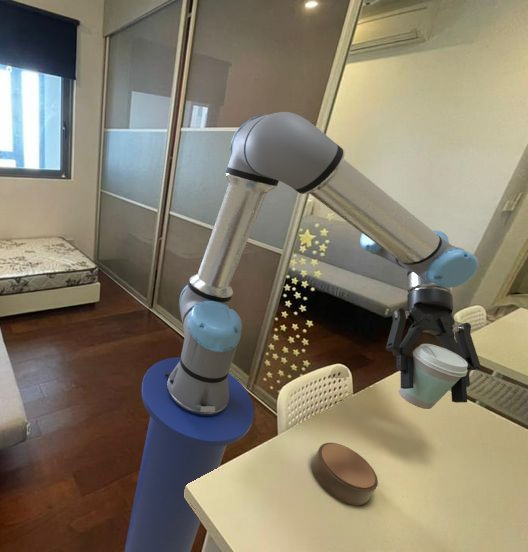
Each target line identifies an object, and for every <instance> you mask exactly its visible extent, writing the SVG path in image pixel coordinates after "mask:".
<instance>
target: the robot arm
mask: <svg viewBox="0 0 528 552" xmlns="http://www.w3.org/2000/svg"><path fill="white" fill-rule="evenodd" d="M345 153H346V152H345V149H344V148H342V146H340V145H339V144H338V143H336V142H335V141H334V140H333V139H332V138H330V137H329V136H328V135H327V134H326V133H325V132H323V130H321V129H319V128H318V126H316V125H314V124H313V123H312V122H311V121H309V120H308V119H306V118H305V117H303V116H301V115H299V114H297V113H293V112H290V111H278V112H274V113H269V114H261V115H260V114H259V115H257V116H254V117H251V118H249V119H248V120H247V121H245V122H244V123H243V124H241V125H240V126H239V127H238V129H237V130H236V131H235V132H234V134H233V136H232V139H231V142H230V148H229V154H230V158H229V161H228V164H227V166H226V167H227V168H226V169H225V177H226V179H227V181H228V185H227V187H226V191H225V193H224V196H223V200H222V202H221V205H220V208H219V211H218V214H217V217H216V220H215V224H214V226H213V227H212V231H211V234H210V237H209V241H208V243H207V246H206V249H205V251H204V254H203V257H202V261H201V263H200V265H199V269H198V272H197V273H195V274H194V275H192V276H190V278H189V280H188V282H187V284H186V286H185V287H184V288H183V289H182V291H181V293H180V295H179V300H178V309H179V312H180V317H181V323H182V329H183V334H184V336H183V337H184V338H183V345H182V349H181V354H180V357H181V358H180V361H179V363H178V364H177V366H176V367H175V369H174V370H173V371H172V373H165V376H169V379H168V383H167V392H168V395H169V397H170V398H171V400H172V401H173V402H174V403H175V404H176V405H177V406H178V407H179V408H181V409H182V410H184V411H185V412H188V413H190V414H192V415H196V416H200V417H213V416H217V415H219V414H221V413H222V412H223V411H224V410H225V409H226V407H227V404H228V401H229V386H228V373H229V374H230V370H231V367H232V363H233V361H234V357H235V354H236V351H237V348H238V345H239V342H240V340H241V337H242V329H243V323H242V320H241V318H240V315H239V314H238V313H237V312H236V311H235V310H234V309H233V308H230V306H229V305H230V302H231V300H232V297H233V294H234V290H233V288H232V286H231V283H232V280H233V278H234V275H235V273H236V271H237V268H238V266H239V263H240V262H241V261H240V260H241V258H242V255H243V253H244V250H245V248H246V245H247V243H248V240H249V238H250V235H251V233H252V231H253V228H254V226H255V223H256V220H257V217H258V216H259V213H260V211H261V207H262V205H263V203H264V201H265V198H266V195H267V194H268V193H269V192H270V191H272V190H274V189H276V188H277V187H278V184H279V183H280V182H281V183H283V184H285V185H286V186H288V187H290V188H292V189H293V190H295V192H297V193H298V194H301V195H306V194H309V195H311V196H312V197H314V198H315V199H316V200H318V201H319V202H320V203H321V204H323V205H324V206H325V207H327V208H328V209H329V210H331V211H332V212H334V214H336V215H337V216H339V217H340V218H342V219H343V220H344V221H345V222H347V223H348V224H350V225H351V226H352V227H354V228H355V229H356V230H358V231H359V232H360V233H361V234H360V235H361V236H360V238H359V245H360V247H361V249H363V250H364V251H367V252H369V253H370V254H372V255H376V256H378V257H381V258H383V259H385V260H386V261H389V262H390V263H392V264H395V265H397V266H399V267H400V268H402V269H405V270H406V277H407V278H406V279H407V283H406V284H407V293H408V294H407V296H406V297H407V298H406V299H407V301H406V302H407V303H406V305H407V310H405V309H404V308H402V307H401V308H398V309H395V310H394V311H392V312H391V317H392V323H391V327H390V331H389V334H388V338H387V342H386V345H385V350H386V351H387V352H389V353H390V352H391V353H392V356H393V357H394V358H396V370H397V371H399V372H400V387H401V388H403V389H410V388H414V381H413V357H412V356H413V355H409V354H410V352H412V349H413V347H414V346H415V344H416V343H417V341H418V340H419V338H420V336H421V335H422V333H423V334H424V333H425V334H430V335H432V336H434V337H435V339H436V340H437V341H439V343H440V345H441V347H442V348H445V349H447V350H449V351H451V352H453V353H455V354H457V355H459V356H460V357H462V358H463V359H464V360H465V361H466V362H467V363H468V366H467V370H468V371H467V374H466V376H463V377H461V378H460V379H459V380H458V381H457V382H456V383H455V384H454V385H453V386H452V387H451V388H450V391H451V393H450V394H451V402H452V403H456V404H457V403H458V404H459V403H468V391H467V388H470V385H471V381H470V379H471V378H470V371H478V370H481V369H482V366H481V363H480V360H479V355H478V353H477V351H476V347H475V344H474V340H473V338H472V335H471V332H472V331H471V330H472V324H471V323H469V322H459V321H456V320H455V318H454V316H453V311H454V296H453V294H452V293H453V291H454V290H453V288H456V287H459V286H463V285H464V284H466V283H468V281H470V279H472V278H473V277H474V276H475V274H476V273H477V271H478V268H479V261H478V258H477V257H476V256H475V255H474V254H473V253H472V252H469V251H467V250H465V249H464V248H462V247H456V246H455V245H452V244H451V243H450V241H449V236H448V235H447V234H446V233H445V232H443V231H441V230H437V229H436V230H433V229H431V228H430V227H429V226H427V225H426V224H425V222H423V221H422V220H420V219H419V217H417V216H415V215H414V214H413V213H412V212H410V211H409V210H408V209H407V208H406V207H404V206H403V205H402V204H400V202H398V201H397V200H396V199H394V198H393V197H392V196H391V195H389V194H388V193H387V192H386V191H384V190H383V189H382V188H381V187H379V186H378V185H377V184H376V183H375V182H373V181H372V180H371V179H370V178H368V177H367V176H366V175H365V174H363V173H362V172H360V170H358V169H357V168H356V167H355V166H353V165H352V164H351V163H350V162H348V161H347V159H345ZM407 319H408V320H409V321H410V323H411V325H410V326H409V328H408V330H407V331H408V332H407V333H406V335H405V336H404V337H403V334H404V330H405V327H406V323H407ZM402 338H403V340H402Z"/></svg>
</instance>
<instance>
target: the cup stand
mask: <svg viewBox="0 0 528 552" xmlns="http://www.w3.org/2000/svg"><path fill="white" fill-rule="evenodd" d="M311 470H312V473H313V476H314V477H315V479H316V481H317V482H318V483H319V485H320V486H321V487H322V488H323V489H324V490H325V491H326V492H327V493H329V494H330V495H331V496H333V497H334V498H335V499H337V500H339V501H341V502H343V503H346V504H347V505H352V506H362V505H365V504H366V503H367V502H368V501H369V500H370V498H371V497H372V495H373V493H374V492H375V491H376V489H377V487H378V484H379V482H378V481H379V480H378V476H377V473H376V472H375V470H374V468H373V467H372V466H371V464H369V462H368V461H367V460H366V459H365V458H364V457H363V456H362V455H360V454H359V453H357V452H356V451H355V450H353V449H351V448H350V447H348V446H345V445H343V444H341V443H337V442H325V443H322V444H321V445H320V446H319V448H318V450H317V452H316V454H315V455H314V458H313V460H312V462H311Z"/></svg>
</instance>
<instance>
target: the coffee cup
mask: <svg viewBox="0 0 528 552" xmlns="http://www.w3.org/2000/svg"><path fill="white" fill-rule="evenodd" d="M411 353H412V355H411V356H412V357H413V381H414V388H410V389H403V388H401V386H400V387H399V389H398V394H399V396H400V397H401V398H402V399H404V400H405V401H406V402H407V403H409V404H411V405H413V406H415V407H416V408H420V409H422V410H431V409H432V408H433V407H434V406H436V404H437V403H438V402H439V401H440V400H441V399H443V397H445V395H446V394H447V393H448V392H449V391H451V387H452V386H453V385H454V384H455V383H456V382H457V381H458V380H459V379H460V378H461V377H463V376H466V374H467V371H468V370H467V366H468V363H467V362H466V361H465V360H464V359H463V358H462V357H460V356H459V355H457V354H455V353H453V352H451V351H449V350H447V349H445V348H443V347H442V346H439V345H435V344H432V343H421V344H420V345H419V346H417V347H415V348H414V349H413V350H412V351H411Z"/></svg>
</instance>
